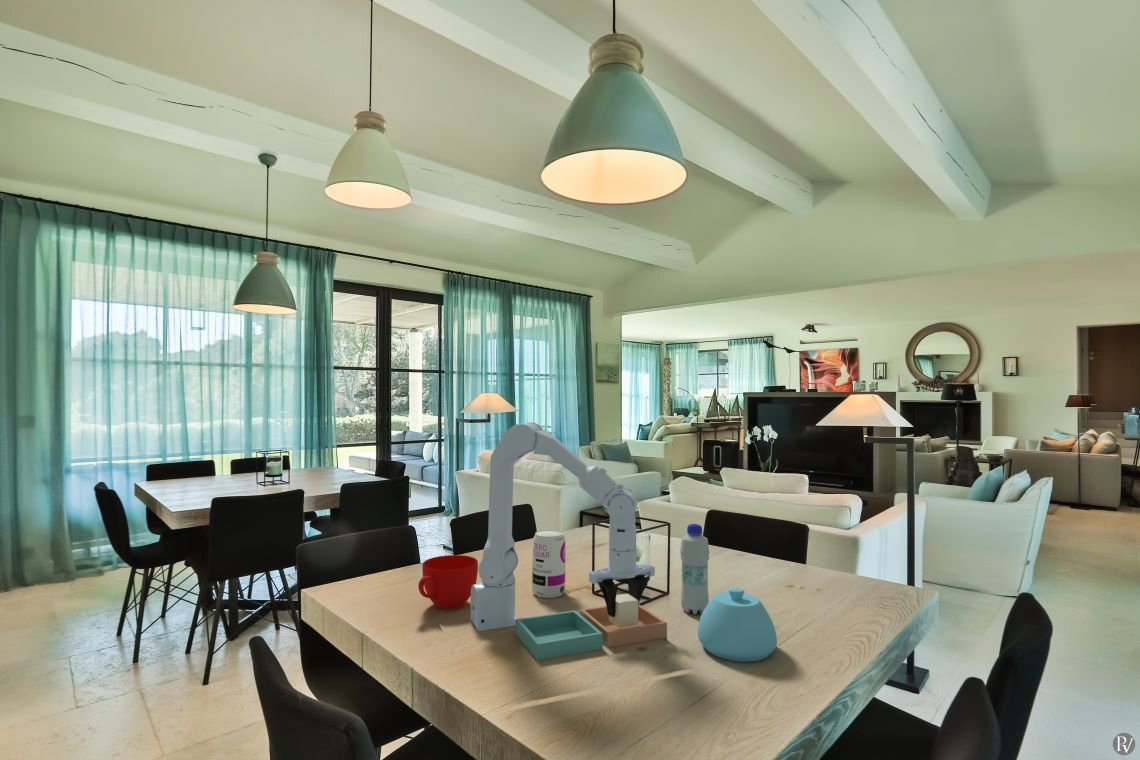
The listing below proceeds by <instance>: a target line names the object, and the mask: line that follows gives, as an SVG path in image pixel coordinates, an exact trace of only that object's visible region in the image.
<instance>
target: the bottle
mask: <svg viewBox="0 0 1140 760" xmlns="http://www.w3.org/2000/svg"><path fill="white" fill-rule="evenodd" d="M686 528H687V529H686V530H687V531H686V532H687V533H686V535H683V536H682V537H681V542H680V548H679V551H680V556H679V557H680V559H681V591H680V605H681V608H682V610H683V611H685V613H686V614H690V613H691V611H692V614H693V615H697V613H698V611H699V614H700V615H702V613H703V611H704V609H705V608H706V606H707V605H708V603H709V602H710V601H709V597H710V596H709V595H710V594H709V580H708V579H709V578H708V577H709V575H708V574H709V573H708V572H709V571H708V567H709V565H708V564H709V563H708V562H709V560H710V548H709V539H708V538H707V537H705V536H704V535H703V528H702V525H701V524H697V523H690V524H688V526H687V527H686Z"/></svg>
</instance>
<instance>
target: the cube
mask: <svg viewBox="0 0 1140 760" xmlns="http://www.w3.org/2000/svg"><path fill="white" fill-rule="evenodd" d="M609 621H610V622H612V623H613V624H614V625H615V626H617V627H618V628H622V627H628V626H634V625H638V600H637V599H635V598H634V597H632V596H631V595H629V593H622V594H616V613H615V617H611V616H610V615H609Z"/></svg>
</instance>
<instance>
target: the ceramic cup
mask: <svg viewBox="0 0 1140 760" xmlns="http://www.w3.org/2000/svg"><path fill="white" fill-rule="evenodd" d="M478 570H479V560H478V559H477V558H476V557H473V556H471V555H470V556H469V555H462V554H454V555H453V554H449V555H448V554H447V555H440V556H435V557H431V558H428V559H426V560H424V561H423V562H422V577H421V578H420V579H419V582H418V592H419V594H420V595H421V596H422V597H424V598H426V599H430V601H431V602H432V604H434V605H435V607H436V608H438V609H440V610H455V609H459V608H462V607H463V606H465V603H467V601H468V600H469V599H470V598H471V587H472V585H474V584H477V580H478V574H479V571H478Z"/></svg>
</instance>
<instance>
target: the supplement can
mask: <svg viewBox="0 0 1140 760" xmlns="http://www.w3.org/2000/svg"><path fill="white" fill-rule="evenodd" d="M531 568H532V571H531V574H532V578H531V579H532V580H531V581H532V582H531V583H532V585H531V586H532V588H531V592H532V593H533V594H534V596H536V597H538V598H543V599H555V598H558V597H559V598H560V597H561V596H562V595H563V594H564V593H565V592H566V537H565V536H564V533H563V532H562V531H560V530H553V529H549V530H548V529H546V530H538V531H536V532H535V534H534V536H533V538H532V567H531Z"/></svg>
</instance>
